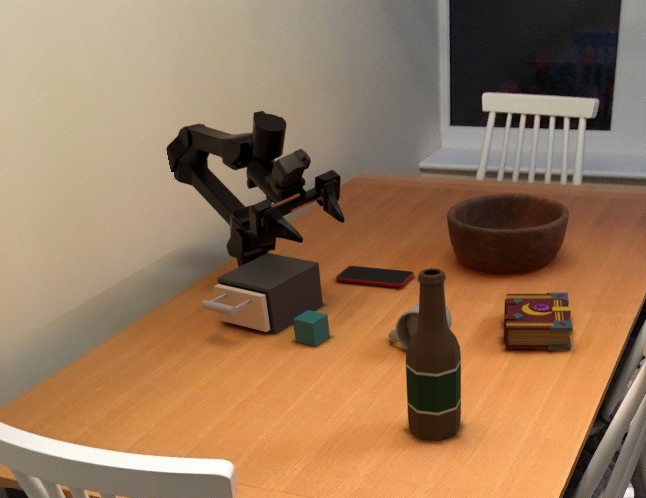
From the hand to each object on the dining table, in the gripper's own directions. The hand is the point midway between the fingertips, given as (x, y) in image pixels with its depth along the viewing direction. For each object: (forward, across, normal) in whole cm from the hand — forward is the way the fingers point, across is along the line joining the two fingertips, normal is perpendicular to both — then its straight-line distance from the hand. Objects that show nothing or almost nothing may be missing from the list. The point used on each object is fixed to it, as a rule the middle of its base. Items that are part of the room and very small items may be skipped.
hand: (323, 230), depth 149 cm
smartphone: (0, +14, +21) cm, 25 cm away
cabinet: (-2, -10, +17) cm, 20 cm away
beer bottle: (+47, -14, -5) cm, 49 cm away
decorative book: (+37, +20, +5) cm, 42 cm away
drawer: (-1, -15, +15) cm, 21 cm away
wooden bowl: (+11, +41, +20) cm, 47 cm away
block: (+12, -11, +11) cm, 19 cm away
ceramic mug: (+26, +2, +7) cm, 27 cm away
